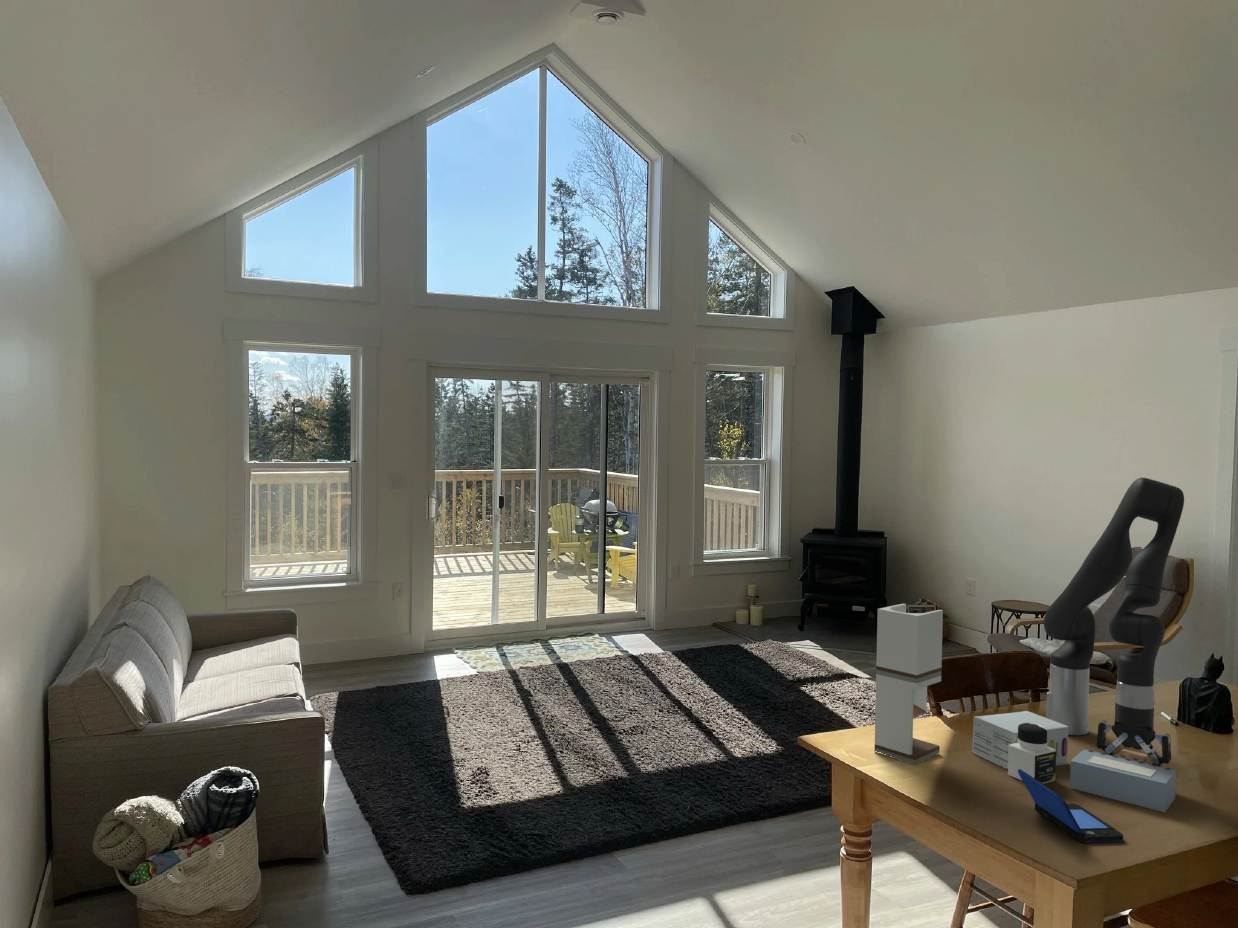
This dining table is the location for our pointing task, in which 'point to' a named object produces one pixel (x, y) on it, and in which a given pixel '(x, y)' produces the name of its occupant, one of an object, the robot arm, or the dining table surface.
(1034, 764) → the medicine bottle
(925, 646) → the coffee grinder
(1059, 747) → the supplement box
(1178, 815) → the dining table surface
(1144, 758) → the stub
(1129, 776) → the block
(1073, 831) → the handheld game console
